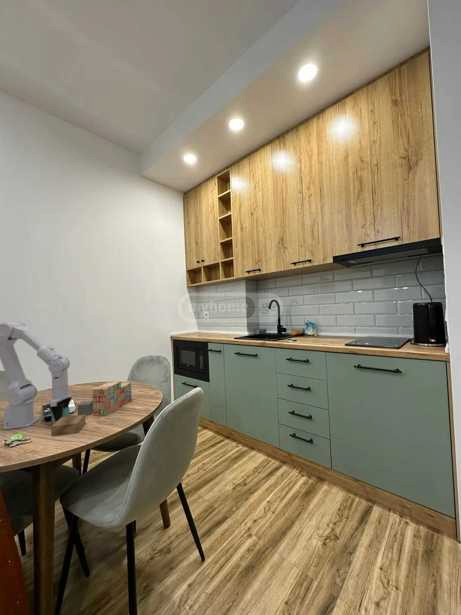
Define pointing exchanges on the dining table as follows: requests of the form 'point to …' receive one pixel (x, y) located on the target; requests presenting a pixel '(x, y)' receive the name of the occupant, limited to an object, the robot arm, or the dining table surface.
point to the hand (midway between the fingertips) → (60, 417)
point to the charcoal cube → (85, 408)
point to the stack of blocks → (110, 397)
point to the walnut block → (68, 425)
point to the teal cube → (64, 414)
